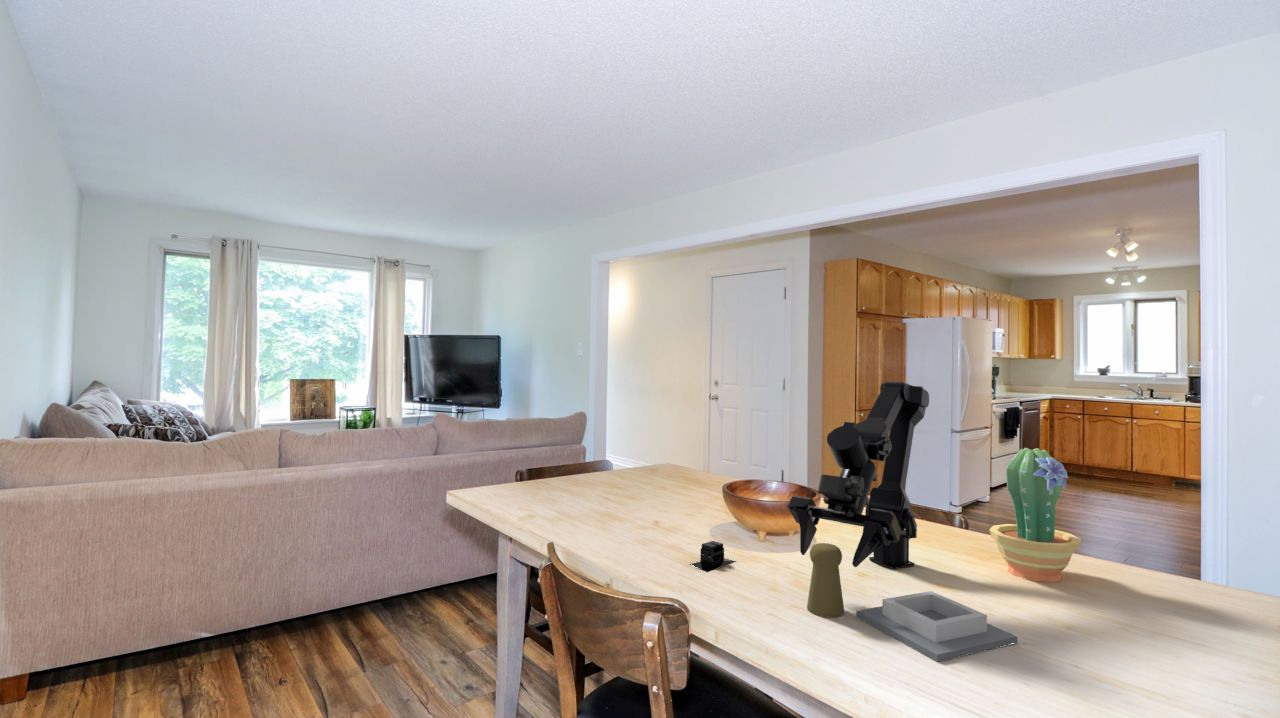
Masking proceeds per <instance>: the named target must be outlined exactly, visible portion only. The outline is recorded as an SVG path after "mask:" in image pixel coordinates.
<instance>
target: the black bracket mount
mask: <svg viewBox="0 0 1280 718" xmlns="http://www.w3.org/2000/svg"><path fill="white" fill-rule="evenodd" d="M725 558H726V557H725V547H724V543H722V542H719V541H715V540H711V541H710V540H709V541H708V542H704V543H701V548H700V560H698V561H699V562H698V561H695V562H696V563H694V562H691V563H692V565H694V566H695V567H698V568H700V569H699V570H700V571H703V572H706V573H709V572H711V571H715V570H717V568H718V569H720V568H723V567H726V566H729V565H732V564H734V562H735V563H737V562H738V561H737V560H734V561H733V559H730V558H727V559H725ZM729 559H730V560H729ZM721 566H722V567H721ZM719 567H720V568H719Z"/></svg>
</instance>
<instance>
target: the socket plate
mask: <svg viewBox="0 0 1280 718" xmlns="http://www.w3.org/2000/svg"><path fill="white" fill-rule="evenodd" d="M881 602H882V606H877V607H876V606H874V607H869V608H864V609H858V610H856V612H855V613H856V615H855V616H856V618H857V619H859V620H861V621H863V622H864V623H866V624H868V625H870V626H872V627H873V628H876V629H877V630H879V631H881V632H883V633H885V634H886V635H888V636H890V637H892V638H894V639H896V640H897V641H899V642H901V643H903V644H904V645H906V646H908V647H910V648H912V649H913V650H915V651H917V652H919V653H920V654H922V655H924V656H926V657H927V658H930V659H931V660H933V661H935V662H937V663H938V662H942V661H946V660H951V659H955V657H956V658H960V657H964V656H968V655H967V654H969V655H971V654H972V653H973V654H976V652H977V653H980V652H979V651H982V652H985V651H984V650H986V651H990V650H993V649H992V648H995V649H997V648H996V647H999V648H1001V647H1000V646H1003V647H1005V646H1004V645H1007V646H1009V645H1008V644H1011V643H1016V644H1018V636H1017V635H1016V634H1013V633H1011V632H1009V631H1006V630H1004V629H1001V628H999V627H997V626H995V625H992V624H990V623H988V616H987V615H988V614H985V613H983V612H981V611H979V610H976V609H974V608H973V607H972V608H971V607H969V606H966V605H964V604H962V603H960V602H957V601H955V600H952V599H950V598H948V597H945V596H943V595H942V594H938V593H936V592H934V591H932V590H929V591H922V592H917V593H911V594H906V595H901V596H894V597H889V598H882V601H881ZM989 649H990V650H989ZM963 655H964V656H963ZM959 656H960V657H959Z"/></svg>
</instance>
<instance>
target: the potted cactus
mask: <svg viewBox="0 0 1280 718" xmlns="http://www.w3.org/2000/svg"><path fill="white" fill-rule="evenodd" d="M1005 472H1006V475H1005V476H1006V486H1007V487H1006V488H1007V490H1008V493H1009V495H1010V497H1011V499H1012V502H1013V507H1014V514H1015V521H1016V524H1013V523H1003V524H996V525H992V526H991V527H990V528H989V530H988V531H989V533H990V537H991V538H992V539H993V540H995V543H996V546H997V548H998V551H999V554H1000V555H1001V557H1002V558H1003V559H1004V560H1005V562H1006V563H1007V564H1008V568H1007V572H1009V573H1010V574H1011V575H1013V576H1015V575H1016V577H1019V578H1021V577H1022V578H1021V579H1024V578H1026V579H1025V580H1029V579H1030V580H1029V581H1034V580H1036V581H1035V582H1040V581H1047V582H1046V583H1055V582H1054V581H1056V582H1060V581H1061V580H1060V579H1062V575H1061V573H1062V572H1063V571H1064V570H1065V569H1066V567H1068V566H1069V563H1070V561H1071V559H1072V556H1073V554H1074V552H1078V551H1079V548H1080V545H1081V542H1082V541H1081V540H1082V539H1081V538H1080V537H1078V536H1076V535H1074V534H1072V533H1070V532H1066V531H1062V530H1057V529H1055V528H1056V526H1055V525H1056V504H1057V502H1058V499H1059V498H1060V495H1061V488H1062V489H1063V490H1066V489H1067V479H1068V478H1069V476H1068V472H1067V470H1066V469H1065V467H1064V465H1063V464H1062V462H1060V461H1058V460H1057V459H1055V458H1053V457H1052V456H1051V455H1050V454H1049V452H1048V451H1047V450H1046V449H1043V450H1042V449H1041V450H1040V449H1039V448H1038V447H1036V448H1034V449H1030V448H1028V447H1024V448H1020V450H1018V452H1017V453H1016V454H1015V455H1014V457H1012V459H1011V460H1010V462H1009V463H1008V465H1007V466H1006V467H1005Z"/></svg>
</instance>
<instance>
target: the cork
mask: <svg viewBox="0 0 1280 718" xmlns="http://www.w3.org/2000/svg"><path fill="white" fill-rule="evenodd" d="M842 553H843V552H842V550H841V549H840V547H839V546H837V545H835V544H832V543H825V542H818V543H815V544H813V545H812V546H811V547H810V548H809V558H810V561H811V562H812V570H811V577H810V584H809V590H808V598H807V606H806V608H807V611H808V612H809V613H810V614H813V615H815V616H817V617H822V618H829V619H830V618H831V619H834V618H841V617H842V616H844V615H845V608H844V598H843V591H842V590H843V589H842V584H841V576H840V575H841V574H840V567H839V566H840V564H842V560H843V554H842Z"/></svg>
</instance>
